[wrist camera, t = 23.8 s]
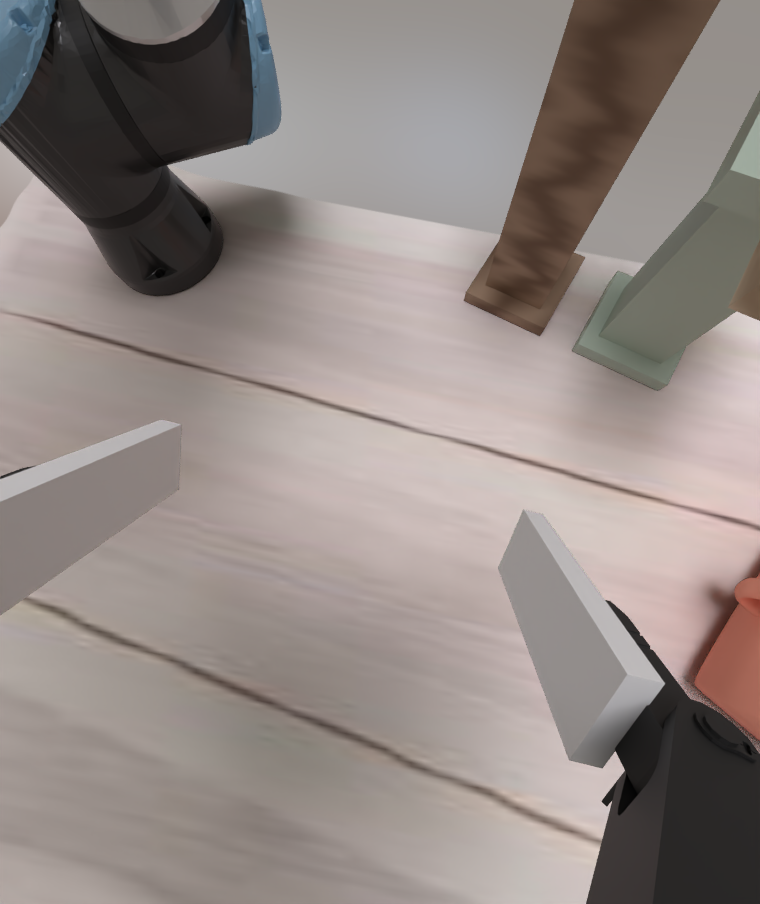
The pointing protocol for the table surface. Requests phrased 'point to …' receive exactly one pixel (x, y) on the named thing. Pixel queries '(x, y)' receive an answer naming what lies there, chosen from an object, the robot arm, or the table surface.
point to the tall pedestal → (583, 145)
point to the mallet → (749, 289)
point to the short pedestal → (683, 275)
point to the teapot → (737, 661)
